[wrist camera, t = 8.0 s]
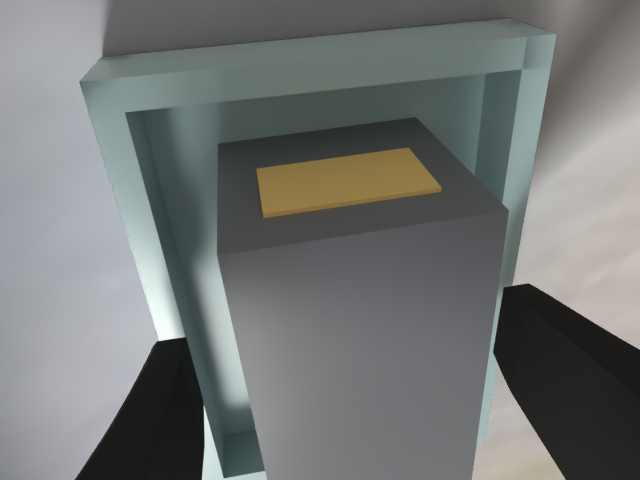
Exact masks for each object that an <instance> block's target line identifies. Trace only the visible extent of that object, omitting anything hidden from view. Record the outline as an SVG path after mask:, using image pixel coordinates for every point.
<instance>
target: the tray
mask: <svg viewBox="0 0 640 480" xmlns="http://www.w3.org/2000/svg"><path fill="white" fill-rule="evenodd" d="M556 36H557V34H556V33H553V32H550V31H547V30H544V29H541V28H538V27H535V26H532V25H529V24H526V23H523V22H520V21H517V20H514V19H511V18H502V19H492V20H481V21H471V22H461V23H450V24H440V25H429V26H419V27H409V28H398V29H388V30H378V31H367V32H357V33H347V34H336V35H326V36H315V37H305V38H295V39H284V40H274V41H264V42H253V43H243V44H233V45H222V46H212V47H201V48H191V49H181V50H170V51H160V52H150V53H139V54H129V55H119V56H108V57H101V58H100V59H99V60H98V61H97V62H96V64H95V65H94V66H93V67H92V68H91V69H90V70H89V72H88V73H87V74H86V75H85V76H84V77H83V78H82V80H81V81H80V86H81V89H82V92H83V95H84V99H85V102H86V105H87V108H88V111H89V115H90V118H91V121H92V124H93V128H94V131H95V134H96V137H97V141H98V144H99V147H100V150H101V153H102V157H103V160H104V163H105V166H106V170H107V173H108V176H109V179H110V183H111V186H112V189H113V192H114V196H115V199H116V202H117V205H118V208H119V212H120V215H121V218H122V221H123V225H124V228H125V231H126V234H127V238H128V241H129V244H130V247H131V251H132V254H133V257H134V260H135V263H136V267H137V270H138V273H139V276H140V280H141V283H142V286H143V289H144V293H145V296H146V299H147V302H148V305H149V309H150V312H151V315H152V318H153V322H154V325H155V328H156V331H157V335H158V338H159V341H162V340H169V339H175V338H182V337H186V338H187V341H188V345H189V349H190V352H191V356H192V360H193V364H194V367H195V371H196V375H197V378H198V382H199V386H200V390H201V393H202V397H203V401H204V434H205V449H204V461H203V472H202V480H267V477H266V472H265V468H264V463H263V459H262V455H261V450H260V446H259V441H258V437H257V432H256V428H255V423H254V419H253V415H252V410H251V406H250V401H249V397H248V392H247V388H246V383H245V379H244V375H243V370H242V366H241V361H240V357H239V352H238V348H237V343H236V339H235V335H234V330H233V326H232V321H231V317H230V312H229V308H228V303H227V299H226V295H225V290H224V286H223V281H222V277H221V272H220V268H219V263H218V259H217V186H218V144H219V143H226V142H234V141H241V140H249V139H256V138H264V137H271V136H279V135H286V134H294V133H301V132H309V131H316V130H324V129H331V128H339V127H346V126H354V125H361V124H369V123H376V122H384V121H391V120H399V119H406V118H414V117H416V118H417V119H418V120H419V121H420V122H421V123H422V124H423V125H424V126H425V127H426V128H427V129H428V130H429V131H430V132H431V133H432V134H433V135H434V136H435V137H436V138H437V139H438V140H439V141H440V142H441V143H442V144H443V145H444V146H445V147H446V148H447V149H448V150H449V151H450V152H451V153H452V154H453V155H454V156H455V157H456V158H457V159H458V160H459V161H460V162H461V163H462V164H463V165H464V166H465V167H466V168H467V169H468V170H469V171H470V172H471V173H472V174H473V175H474V176H475V177H476V178H477V179H478V180H479V181H480V182H481V183H482V184H483V185H484V186H485V187H486V188H487V189H488V190H489V191H490V192H491V193H492V194H493V195H494V196H495V197H496V198H497V199H498V200H499V201H500V202H501V203H502V204H503V205H504V206H505V207H506V208H507V209H508V210H509V215H508V222H507V229H506V237H505V244H504V251H503V258H502V265H501V272H500V279H499V287H498V294H497V301H496V308H495V315H494V322H493V329H492V337H491V344H490V351H489V358H488V365H487V372H486V379H485V386H484V394H483V401H482V408H481V415H480V422H479V429H478V436H477V443H481V442H484V441H485V435H486V429H487V424H488V418H489V412H490V407H491V401H492V396H493V390H494V384H495V379H496V373H497V368H498V363H497V361H496V358H495V356H494V354H493V348H494V342H495V336H496V330H497V324H498V318H499V312H500V306H501V300H502V294H503V288H504V287H509V286H512V283H513V278H514V272H515V267H516V261H517V255H518V250H519V244H520V238H521V233H522V227H523V222H524V216H525V210H526V205H527V199H528V194H529V188H530V182H531V177H532V171H533V165H534V160H535V154H536V149H537V143H538V137H539V132H540V126H541V121H542V115H543V109H544V104H545V98H546V93H547V87H548V81H549V76H550V70H551V64H552V59H553V53H554V48H555V42H556Z"/></svg>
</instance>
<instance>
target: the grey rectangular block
mask: <svg viewBox="0 0 640 480" xmlns="http://www.w3.org/2000/svg"><path fill="white" fill-rule="evenodd" d="M508 215H509V210H508V209H507V208H506V207H505V206H504V205H503V204H502V203H501V202H500V201H499V200H498V199H497V198H496V197H495V196H494V195H493V194H492V193H491V192H490V191H489V190H488V189H487V188H486V187H485V186H484V185H483V184H482V183H481V182H480V181H479V180H478V179H477V178H476V177H475V176H474V175H473V174H472V173H471V172H470V171H469V170H468V169H467V168H466V167H465V166H464V165H463V164H462V163H461V162H460V161H459V160H458V159H457V158H456V157H455V156H454V155H453V154H452V153H451V152H450V151H449V150H448V149H447V148H446V147H445V146H444V145H443V144H442V143H441V142H440V141H439V140H438V139H437V138H436V137H435V136H434V135H433V134H432V133H431V132H430V131H429V130H428V129H427V128H426V127H425V126H424V125H423V124H422V123H421V122H420V121H419V120H418V119H417V118H416V117H414V118H406V119H399V120H391V121H384V122H376V123H369V124H361V125H354V126H346V127H339V128H331V129H324V130H316V131H309V132H301V133H294V134H286V135H279V136H271V137H264V138H256V139H249V140H241V141H234V142H226V143H219V144H218V186H217V259H218V263H219V268H220V272H221V277H222V281H223V286H224V290H225V295H226V299H227V303H228V308H229V312H230V317H231V321H232V326H233V330H234V335H235V339H236V343H237V348H238V352H239V357H240V361H241V366H242V370H243V375H244V379H245V383H246V388H247V392H248V397H249V401H250V406H251V410H252V415H253V419H254V423H255V428H256V432H257V437H258V441H259V446H260V450H261V455H262V459H263V463H264V468H265V472H266V477H267V480H471V479H472V472H473V465H474V458H475V451H476V444H477V436H478V429H479V422H480V415H481V408H482V401H483V394H484V386H485V379H486V372H487V365H488V358H489V351H490V344H491V337H492V329H493V322H494V315H495V308H496V301H497V294H498V287H499V279H500V272H501V265H502V258H503V251H504V244H505V237H506V229H507V222H508Z"/></svg>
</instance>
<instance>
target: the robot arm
mask: <svg viewBox="0 0 640 480" xmlns="http://www.w3.org/2000/svg"><path fill="white" fill-rule="evenodd" d="M493 354H494V356H495V358H496V361H497V363H498V365H499V367H500V370H501V372H502V374H503V376H504V378H505V380H506V383H507V385H508V387H509V389H510V391H511V393H512V394H513V396H514V398H515V399H516V401H517V403H518V404H519V406H520V407H521V409H522V411H523V412H524V414H525V415H526V417H527V419H528V420H529V422H530V424H531V425H532V427H533V428H534V430H535V431H536V433H537V435H538V436H539V438H540V439H541V441H542V442H543V444H544V446H545V447H546V449H547V450H548V452H549V454H550V455H551V457H552V458H553V460H554V461H555V463H556V465H557V466H558V468H559V469H560V471H561V473H562V474H563V476H564V477H565V479H566V480H640V350H639V349H637V348H636V347H634V346H632V345H630V344H629V343H627V342H625V341H623V340H622V339H620V338H618V337H616V336H615V335H613V334H611V333H610V332H608V331H606V330H605V329H603V328H601V327H600V326H598V325H596V324H595V323H593V322H592V321H590V320H588V319H587V318H585V317H583V316H582V315H580V314H579V313H577V312H575V311H574V310H572V309H570V308H569V307H567V306H566V305H564V304H562V303H561V302H559V301H558V300H556V299H554V298H553V297H551V296H549V295H548V294H546V293H544V292H543V291H541V290H539V289H538V288H536V287H534V286H532V285H531V284H522V285H516V286H509V287H504V288H503V294H502V300H501V306H500V312H499V318H498V324H497V330H496V336H495V342H494V348H493ZM204 449H205V434H204V401H203V397H202V393H201V390H200V386H199V382H198V378H197V375H196V371H195V367H194V364H193V360H192V356H191V352H190V349H189V345H188V341H187V338H186V337H182V338H175V339H169V340H162V341H157V342H156V344H155V345H154V346H153V348H152V350H151V352H150V354H149V356H148V358H147V360H146V362H145V364H144V366H143V368H142V370H141V372H140V374H139V376H138V378H137V380H136V381H135V383H134V385H133V387H132V389H131V391H130V393H129V394H128V396H127V398H126V400H125V401H124V403H123V405H122V406H121V408H120V410H119V412H118V413H117V415H116V417H115V419H114V420H113V422H112V424H111V425H110V427H109V429H108V430H107V432H106V433H105V435H104V437H103V438H102V440H101V441H100V443H99V444H98V446H97V447H96V449H95V450H94V452H93V453H92V455H91V456H90V458H89V460H88V461H87V463H86V464H85V466H84V467H83V469H82V470H81V472H80V473H79V474H78V476H77V477H76V479H75V480H202V472H203V461H204Z"/></svg>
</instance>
